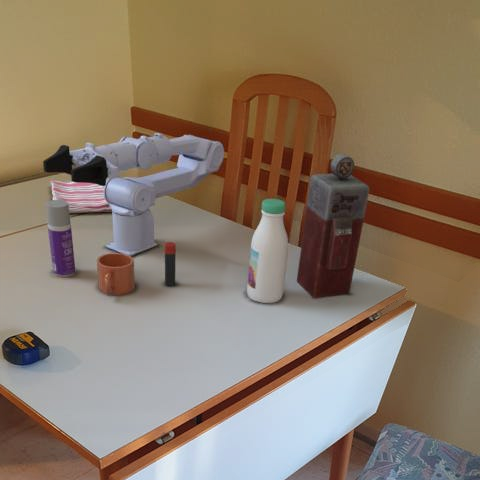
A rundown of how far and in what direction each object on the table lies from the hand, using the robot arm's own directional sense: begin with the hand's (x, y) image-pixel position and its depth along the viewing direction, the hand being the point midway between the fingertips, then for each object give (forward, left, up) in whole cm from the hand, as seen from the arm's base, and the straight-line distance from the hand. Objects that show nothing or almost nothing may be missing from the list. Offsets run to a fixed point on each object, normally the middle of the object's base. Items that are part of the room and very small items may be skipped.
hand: (58, 171), depth 123 cm
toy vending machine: (-33, +45, -22) cm, 60 cm away
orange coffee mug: (-1, +13, -21) cm, 25 cm away
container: (+1, -1, -22) cm, 22 cm away
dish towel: (-34, -33, -22) cm, 52 cm away
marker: (-11, +19, -21) cm, 31 cm away
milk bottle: (-21, +37, -22) cm, 48 cm away
